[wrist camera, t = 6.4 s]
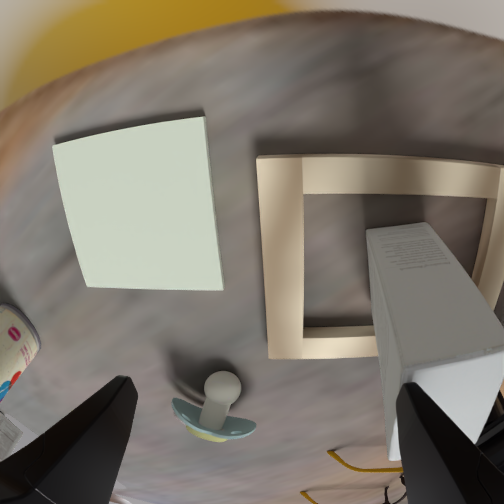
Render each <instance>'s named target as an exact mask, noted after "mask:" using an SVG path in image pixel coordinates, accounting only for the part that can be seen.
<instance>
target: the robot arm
mask: <svg viewBox="0 0 504 504" xmlns="http://www.w3.org/2000/svg"><path fill="white" fill-rule="evenodd" d="M137 400H138V393H137V390H136V388H135V386H134V384H133V382H132V379H131V378H130V377H128V376H122V375H118V376H116V377H115V378H114V379H112V380H111V381H110V382H109V383H107V384H106V385H105V386H103V387H102V388H101V389H100V390H98V391H97V392H96V393H95V394H93V395H92V396H91V397H89V398H88V399H87V400H86V401H84V402H83V403H82V404H80V405H79V406H78V407H77V408H75V409H74V410H73V411H71V412H70V413H69V414H68V415H66V416H65V417H64V418H62V419H61V420H60V421H59V422H57V423H56V424H55V425H53V426H52V427H51V428H49V429H48V430H47V431H46V432H45V434H44V433H43V434H42V435H40V436H39V437H38V438H36V439H35V440H34V441H32V442H31V443H29V444H28V445H27V446H25V447H24V448H22V449H20V450H19V451H17V452H16V453H14V454H12V455H11V456H9V457H7V458H6V459H4V460H2V461H1V462H0V504H109V501H110V498H111V494H112V491H113V488H114V484H115V481H116V478H117V475H118V471H119V468H120V465H121V462H122V459H123V456H124V453H125V450H126V446H127V443H128V440H129V437H130V433H131V428H132V423H133V418H134V414H135V409H136V404H137ZM396 415H397V427H398V441H399V450H400V456H401V461H402V467H403V473H404V479H405V485H406V492H407V499H408V504H504V398H503V396H502V394H501V392H500V390H499V392H498V395H497V397H496V400H495V402H494V405H493V407H492V409H491V412H490V414H489V416H488V419H487V421H486V423H485V425H484V427H483V429H482V432H481V434H480V436H479V438H478V440H477V442H476V443H475V444H474V443H473V442H472V441H471V440H470V439H469V438H468V437H467V435H466V434H465V433H464V432H463V431H462V430H461V429H460V428H459V427H458V426H457V425H456V424H455V423H454V422H453V421H452V419H451V418H450V417H449V416H448V415H447V414H446V413H445V412H444V411H443V410H442V409H441V408H440V407H439V406H438V405H437V404H436V403H435V402H434V400H433V399H432V398H431V397H430V396H429V395H428V394H427V393H426V392H425V391H424V390H423V389H422V388H421V387H420V386H419V385H418V384H417V383H416V382H408V383H404V384H403V385H402V386H401V389H400V391H399V394H398V396H397V399H396Z"/></svg>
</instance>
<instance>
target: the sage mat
mask: <svg viewBox="0 0 504 504" xmlns="http://www.w3.org/2000/svg"><path fill="white" fill-rule="evenodd" d="M52 148H53V154H54V160H55V166H56V171H57V176H58V181H59V186H60V191H61V196H62V200H63V204H64V209H65V213H66V217H67V221H68V225H69V229H70V232H71V236H72V240H73V243H74V247H75V250H76V254H77V257H78V260H79V263H80V267H81V270H82V273H83V276H84V279H85V282H86V285H87V287H105V288H131V289H166V290H224V287H225V284H224V277H223V269H222V261H221V253H220V245H219V237H218V229H217V220H216V212H215V203H214V194H213V185H212V176H211V167H210V157H209V147H208V137H207V127H206V116H204V117H195V118H188V119H180V120H173V121H166V122H160V123H153V124H147V125H142V126H136V127H131V128H125V129H120V130H115V131H110V132H106V133H101V134H97V135H92V136H88V137H84V138H80V139H76V140H72V141H68V142H64V143H60V144H56V145H53V146H52Z"/></svg>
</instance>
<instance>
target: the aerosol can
mask: <svg viewBox="0 0 504 504" xmlns="http://www.w3.org/2000/svg"><path fill="white" fill-rule="evenodd" d="M40 349H41V342H40V339H39V335H38V334H37V332H36V330H35V328H34V326H33V325H32V324H31V322H30V321H29V320H28V318H27V317H26V316H25V315H24V314H23V313H22V312H21V311H19V310H18V309H17V308H15V307H14V306H12V305H10V304H5V303H3V304H1V305H0V402H1V401H2V399H3V398H4V396H5V395H6V394H7V392H8V391H9V390H10V388H11V387H12V385H13V384H14V383H15V381H16V380H17V379H18V377H19V376H20V375H21V374H22V372H23V371H24V370H25V368H26V367H27V366H28V364H29V363H30V362H31V361H32V359H33V358H34V357H35V355H36V354H37V353H38V352H39V350H40Z"/></svg>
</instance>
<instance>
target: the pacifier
mask: <svg viewBox="0 0 504 504" xmlns="http://www.w3.org/2000/svg"><path fill="white" fill-rule="evenodd" d="M204 391H205V395H206V399H205V402H204V405H203V408H199V407H197V406H194V405H192V404H190V403H188V402H186V401H184V400H182V399H178V398H173V399H172V402H171V403H172V408H173V410H174V416H175V417H176V418H177V419H178V420H179V421H180V422H182V423H183V424H185V425H186V428H187V430H188V431H189V432H190V433H192V434H193V435H195V436H197V437H200V438H203V439H206V440H209V441H214V442H224V441H226V440H227V439H238V438H243V437H246V436H248V435H250V434H251V433H252V432H254V430H255V428H256V423H255V422H253V421H250V420H247V419H242V418H237V417H231V416H227V414H228V411H229V408H230V405H231V404H232V403H234V402H235V401H236V400H237V399H238V397H239V395H240V392H241V383H240V381H239V379H238V378H237V376H235V375H234V374H233V373H231V372H227V371H219V372H215V373H213V374H212V375H210V376H209V377H208V379H207V380H206V382H205V385H204Z"/></svg>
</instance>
